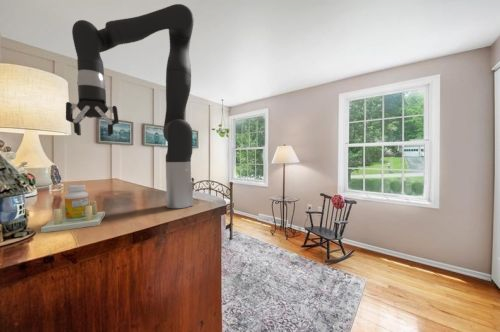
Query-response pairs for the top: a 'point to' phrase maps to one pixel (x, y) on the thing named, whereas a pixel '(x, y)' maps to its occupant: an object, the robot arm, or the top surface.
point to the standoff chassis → (62, 224)
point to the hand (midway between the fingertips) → (94, 135)
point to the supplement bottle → (76, 203)
